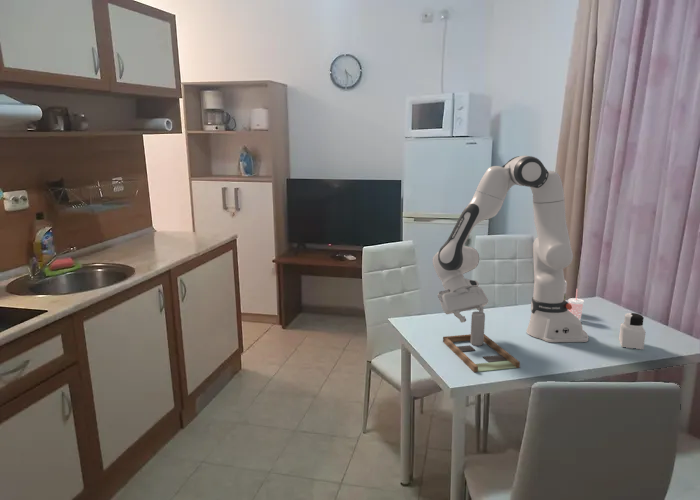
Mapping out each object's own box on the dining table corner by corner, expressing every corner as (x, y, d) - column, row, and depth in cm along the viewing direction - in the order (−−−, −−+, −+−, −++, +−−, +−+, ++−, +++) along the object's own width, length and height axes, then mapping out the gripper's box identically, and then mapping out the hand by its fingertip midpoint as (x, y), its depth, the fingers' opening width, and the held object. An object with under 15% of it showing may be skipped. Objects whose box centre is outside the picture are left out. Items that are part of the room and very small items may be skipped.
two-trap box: (442, 341, 194) (443, 336, 194) (482, 338, 197) (483, 333, 197) (474, 372, 168) (474, 366, 168) (519, 367, 171) (520, 362, 171)
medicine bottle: (639, 342, 192) (643, 312, 189) (643, 350, 185) (647, 318, 183) (618, 340, 194) (621, 310, 192) (621, 347, 188) (625, 316, 185)
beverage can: (468, 341, 194) (470, 311, 192) (481, 341, 195) (482, 311, 192) (472, 346, 189) (474, 315, 187) (485, 346, 190) (487, 315, 187)
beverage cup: (570, 317, 221) (572, 285, 218) (584, 320, 216) (587, 288, 213) (564, 320, 216) (566, 288, 213) (578, 324, 212) (581, 291, 209)
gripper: (440, 287, 191) (456, 320, 185) (480, 280, 201) (497, 311, 195) (432, 296, 196) (447, 328, 189) (472, 288, 206) (488, 318, 199)
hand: (473, 319), depth 192 cm, fingers open, 8 cm apart
